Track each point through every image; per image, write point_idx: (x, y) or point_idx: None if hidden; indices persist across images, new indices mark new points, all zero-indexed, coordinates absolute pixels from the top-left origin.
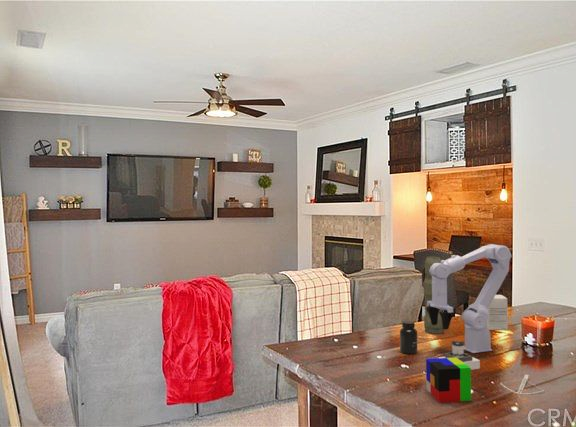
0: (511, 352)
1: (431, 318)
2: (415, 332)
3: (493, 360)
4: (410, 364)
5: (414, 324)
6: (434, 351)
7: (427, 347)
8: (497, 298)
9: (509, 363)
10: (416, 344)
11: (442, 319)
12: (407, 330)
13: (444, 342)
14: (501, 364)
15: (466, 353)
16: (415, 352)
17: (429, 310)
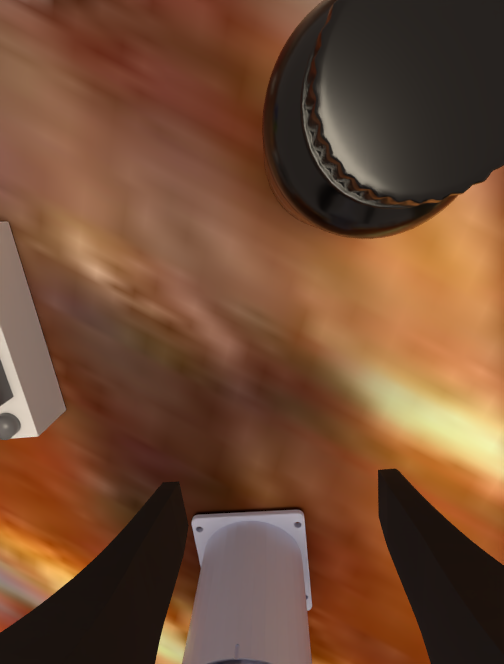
0: (175, 653)
1: (413, 524)
2: (278, 179)
3: (76, 536)
4: (44, 26)
5: (348, 186)
6: (287, 345)
7: (382, 345)
8: None
9: (28, 568)
10: (279, 200)
11: (103, 574)
12: (309, 47)
13: (436, 489)
14: (16, 535)
15: (5, 436)
16: (271, 189)
17: (489, 644)
